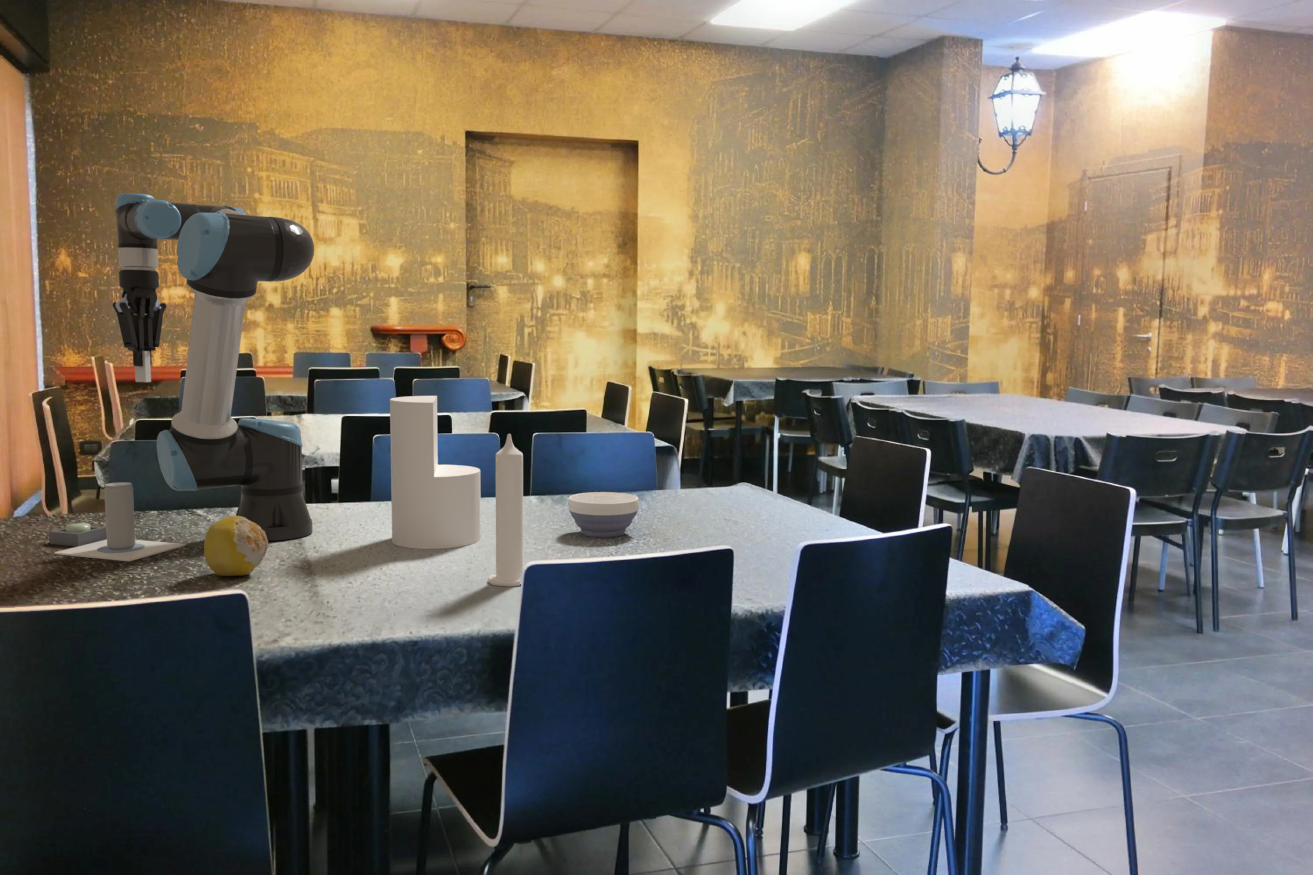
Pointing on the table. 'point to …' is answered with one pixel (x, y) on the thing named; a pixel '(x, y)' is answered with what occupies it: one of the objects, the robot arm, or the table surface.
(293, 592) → the table surface
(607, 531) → the bowl
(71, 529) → the button
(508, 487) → the candle
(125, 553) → the paper sheet
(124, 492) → the beverage can
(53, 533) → the button housing
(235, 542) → the fruit
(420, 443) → the white notched round column
